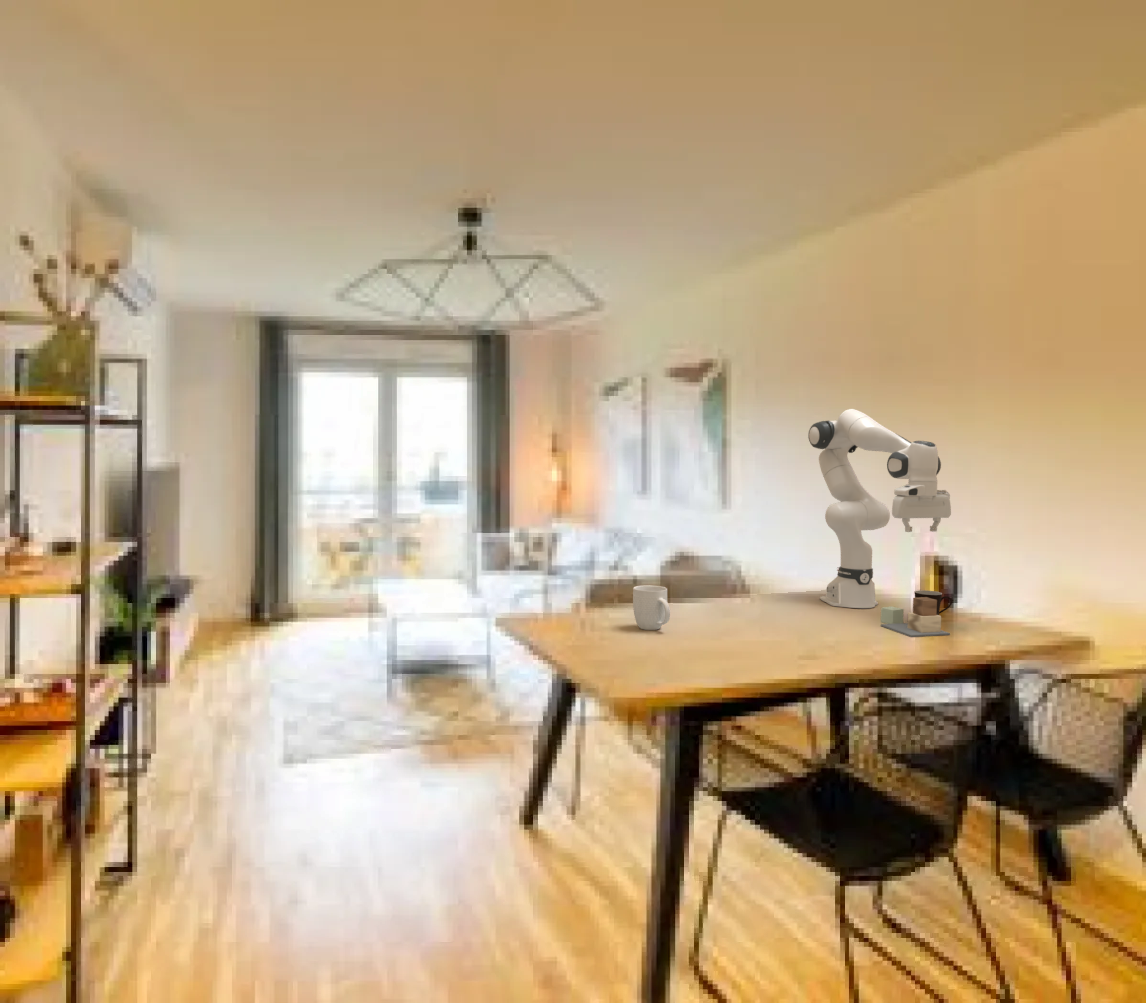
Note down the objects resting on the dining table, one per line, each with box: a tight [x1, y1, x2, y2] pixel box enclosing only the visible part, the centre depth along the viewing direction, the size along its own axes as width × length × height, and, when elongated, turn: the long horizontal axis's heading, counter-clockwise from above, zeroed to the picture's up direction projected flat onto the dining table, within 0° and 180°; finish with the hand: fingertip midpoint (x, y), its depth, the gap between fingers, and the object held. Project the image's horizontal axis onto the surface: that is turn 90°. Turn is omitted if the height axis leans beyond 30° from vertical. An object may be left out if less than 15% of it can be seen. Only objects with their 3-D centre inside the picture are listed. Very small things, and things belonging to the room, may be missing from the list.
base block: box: [907, 611, 942, 633], centre depth 264 cm, size 7×7×5 cm
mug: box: [632, 584, 671, 631], centre depth 264 cm, size 15×11×13 cm
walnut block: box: [912, 597, 937, 616], centre depth 264 cm, size 5×5×5 cm
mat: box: [880, 622, 951, 638], centre depth 266 cm, size 16×14×1 cm
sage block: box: [880, 606, 905, 624], centre depth 277 cm, size 5×5×5 cm
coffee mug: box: [914, 589, 953, 616], centre depth 279 cm, size 12×9×10 cm
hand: (921, 531), depth 273 cm, fingers open, 8 cm apart
